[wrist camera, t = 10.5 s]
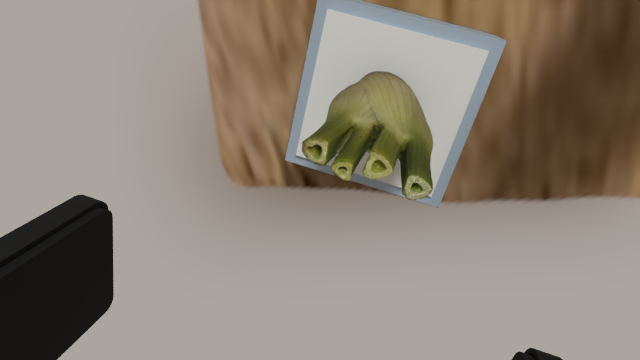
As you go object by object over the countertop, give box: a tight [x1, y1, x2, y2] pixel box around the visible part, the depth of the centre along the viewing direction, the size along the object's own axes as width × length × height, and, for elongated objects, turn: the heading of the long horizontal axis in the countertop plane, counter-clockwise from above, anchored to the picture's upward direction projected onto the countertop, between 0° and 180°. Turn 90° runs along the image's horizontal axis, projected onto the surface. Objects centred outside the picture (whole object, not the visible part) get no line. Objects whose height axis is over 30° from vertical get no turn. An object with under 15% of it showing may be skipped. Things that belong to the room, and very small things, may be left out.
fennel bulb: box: [302, 71, 433, 200], centre depth 23 cm, size 6×5×12 cm
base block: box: [285, 0, 507, 208], centre depth 30 cm, size 12×12×5 cm
